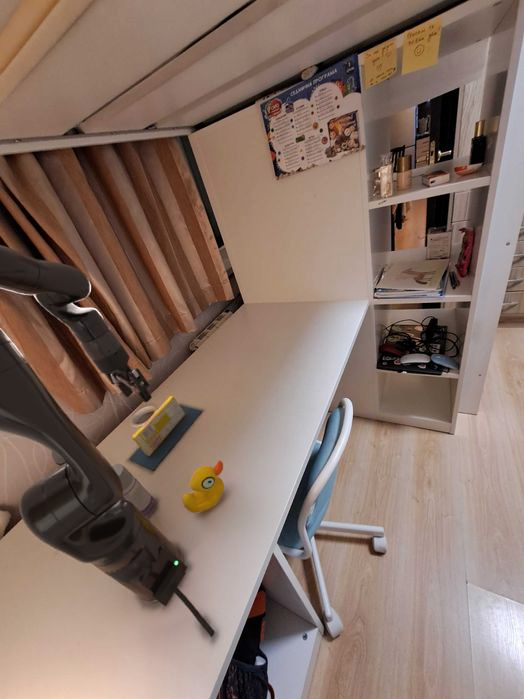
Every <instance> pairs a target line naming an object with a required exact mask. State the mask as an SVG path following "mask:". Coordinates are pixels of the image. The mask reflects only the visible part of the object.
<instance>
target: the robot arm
mask: <svg viewBox="0 0 524 699" xmlns="http://www.w3.org/2000/svg"><path fill="white" fill-rule="evenodd" d="M0 289H2V290H5V291H9V292H12V293H16V294H20V295H24V296H25V295H27V296H33V297H34V298H35V300H36V301H37V302H38V303H39V305H40V306H41V307H43V308H44V309H45V310H46V311H47V312H49V313H50V314H51V315H52V316H54V317H55V318H56V319H57V320H58V321H60V322H61V323H63V325H65V326H66V327H68V328H69V330H70V331H71V332H72V334H73V335H74V336H75V338H76V339H77V341H78V342H79V343H80V345H81V347H82V348H83V350H84V352H85V354H86V355H87V356H88V357H89V358H90V360H91V361H92V362H93V364H94V365H95V366H96V368H97V369H98V371H99V373H101V374H104V375H105V377H106V379H108V381H109V383H110V384H111V385H112V386H113V385H114V386H115V387H116V388H119V390H120V391H121V393H122V394H123V396H124V397H126V398H128V397H130V396H131V395H132V394H133V393H134V391H135V392H136V393H137V394H138V396H139V397H140V398H141V400H142V401H143V402H144V403H148V402H150V400H151V399H152V397H153V396H152V395H151V393H150V391H149V390H148V388H149V387H150V384H149V382H148V380H147V379H146V378H145V376H144V375H143V373H142V372H141V370H140V369H139V368H138V367H135V368H132V367H131V366H130V365H128V362H129V361H130V355H129V353H128V352H127V350H126V348H125V347H124V345H123V344H122V343H121V341H120V339H119V337H117V335H116V334H115V332H114V331H113V330H112V329H111V327H110V326H109V325H108V323H107V322H106V320H105V319H104V317H103V315H102V314H101V313H100V312H99V310H98V309H96V308H95V307H79V306H78V305H75V304H74V303H77V302H79V301H83V300H85V299H86V298H87V297H88V296H89V295H90V293H91V291H92V290H91V289H92V286H91V282H90V279H89V277H88V276H87V275H85V273H84V272H82V271H81V270H79V269H78V268H77V267H74V266H72V265H70V264H65V263H60V262H55V261H51V260H44V259H37V258H34V257H32V256H30V255H28V254H25V253H23V252H20V251H17V250H16V249H13V248H11V247H8V246H6V245H2V244H0ZM133 390H134V391H133ZM0 432H2V433H6V434H11V435H14V436H18V437H21V438H25V439H27V440H30V441H33V442H35V443H38V444H40V445H42V446H43V447H45V448H46V449H48V450H50V451H51V452H52V451H53V452H54V453H56V454H57V455H58V456H59V457H61V458H62V459H63V460H64V461H65V462H66V463H65V464H64V465H62V466H59V467H56V469H54V470H53V471H51V472H49V473H48V474H47V475H44V476H43V477H42V478H40V479H38V480H36V481H35V482H34V483H33V484H31V485H29V487H27V488H26V489H25V490H24V491H23V493H22V494H21V497H20V500H19V514H20V516H21V520H22V521H23V524H24V525H25V527H27V529H28V530H29V532H31V533H32V534H33V535H34V537H36V538H37V539H39V540H40V541H41V542H42V543H44V544H46V545H48V546H50V547H51V548H53V549H55V550H57V551H59V552H61V553H64V554H65V555H67V556H69V557H70V558H72V559H74V560H76V561H77V562H80V563H83V564H91V565H92V566H94V567H96V568H97V569H98V570H100V571H101V572H102V573H104V574H106V575H107V576H108V577H110V578H111V579H113V580H114V581H116V582H117V583H119V584H120V585H121V586H123V587H125V588H126V589H127V590H129V591H130V592H132V593H133V594H135V595H137V596H138V597H139V598H140V599H141V600H143V601H144V602H146V603H149V604H157V603H160V604H161V605H163V606H164V607H167V606H168V604H169V602H170V601H171V599H172V597H173V596H174V594H175V595H176V596H177V598H178V599H180V600H181V602H182V603H183V604H184V605H185V606H186V608H187V609H188V610H189V611H190V612H191V614H192V615H193V616H194V618H195V619H196V620H197V621H198V623H199V624H200V625H201V627H202V628H203V629H204V631H206V632H207V634H208V635H209V636H210V637H213V636H214V634H215V630H214V629H213V627H211V625H210V624H209V623H208V622H207V620H205V618H204V617H203V616H202V615H201V613H200V611H199V610H198V609H197V608H196V606H195V605H194V604H193V603H192V602H191V601H190V600H189V598H187V596H186V594H184V593H183V591H181V590H180V589H179V588H178V587H179V586H180V584H181V583H182V580H183V578H184V576H185V575H186V571H187V569H188V566H187V564H186V563H185V558H184V554H183V552H182V551H181V549H180V548H179V547H177V546H176V545H175V544H174V543H173V542H172V541H171V540H169V538H168V537H167V536H166V535H165V534H163V532H162V531H161V530H160V529H159V528H157V527H156V525H155V524H153V522H152V521H151V520H150V519H148V517H146V516H145V515H144V514H143V513H142V512H141V511H140V510H139V509H138V508H137V507H136V506H135V505H134V504H133V503H131V502H130V501H128V500H126V499H121V498H122V495H123V486H122V483H121V480H120V478H119V476H118V474H117V473H116V471H115V470H114V468H113V467H112V466H113V465H112V464H111V463H110V461H108V459H107V458H106V457H105V456H104V454H102V452H101V451H100V450H99V449H98V448H97V447H96V446H95V445H94V444H93V442H92V441H91V440H90V439H89V438H88V437H87V436H86V435H85V434H84V433H83V431H82V430H81V429H80V428H79V427H78V426H77V425H76V424H75V422H74V421H73V420H72V419H71V418H70V417H69V415H68V414H67V413H66V412H65V411H64V409H62V407H61V406H60V404H59V403H58V402H57V400H56V399H55V398H54V396H53V395H52V394H51V393H50V391H49V390H48V388H47V387H46V386H45V384H44V383H43V381H42V380H41V379H40V377H39V376H38V374H37V373H36V372H35V371H34V369H33V367H32V366H31V364H30V363H29V362H28V361H27V359H26V358H25V357H24V355H23V354H22V352H21V351H20V350H19V349H18V347H17V346H16V345H15V343H14V342H12V340H11V338H9V336H8V335H7V334H6V333H5V332H4V330H3V329H2V328H1V327H0Z"/></svg>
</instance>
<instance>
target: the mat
mask: <svg viewBox="0 0 524 699" xmlns="http://www.w3.org/2000/svg"><path fill="white" fill-rule="evenodd" d="M179 405H180V407H181V408H182V410H183V411H184V413H185V415H184V417H183V418H182V419H181V420H180V421H179V422H178V424H177V425H176V426H175V427H174V428H173V429H172V431H171V432H170V433H169V434H168V435H167V436H166V438H165V439H164V440H163V441H162V442H161V443H160V445H159V446H158V447H157V448H156V449H155V450H154V452H153V453H152V454H151V455H150V456H148V455H146V454H145V453H144V451H143V450H142V449H141V448H140V447H139V446H138V448H137V450H136V451H135V452H134V453H133V454H132V455H131V456H130V457H129V458H128V459H129V460H130V461H132V462H134V463H135V464H138V465H140V466H142V467H145V468H146V469H148V470H150V471H153V472H154V471H155V470H156V469H157V467H158V466H159V465H160V464H161V462H162V461H163V460H164V459H165V458H166V457H167V455H168V454H169V453H170V452H171V451H172V449H173V448H174V447H175V445H176V444H177V443H178V442H179V441H180V439H181V438H182V437H183V436H184V435H185V433H186V432H187V431H188V430H189V429H190V427H191V426H192V425H193V424H194V422H195V421H196V420H197V419H198V418H199V417H200V415H201V414H202V413H203V410H201V409H197V408H193V407H189V406H186V405H182V404H179Z"/></svg>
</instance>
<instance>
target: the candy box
mask: <svg viewBox="0 0 524 699" xmlns="http://www.w3.org/2000/svg"><path fill="white" fill-rule="evenodd" d="M180 405H181V404H180V403H178V401H177V399H176V398H175V396H174V395H170V396H169V397H168V398H166V399H165V401H164V402H163V403H162V404H161V406H159V408H157V409H156V411H155V412H153V414H152V415H151V416H150V417H149V418H148V419H147V420H146V421H145V422H144V423H143V424H142V425H141V426H140V428H138V429H137V430H136V431H135V432H134V434H132V436H131V439H132V440H133V441H134V442H135V443H136V445H138V448H139V447H140V448H141V449H142V450H143V451H144V453H145V454H146V455H148V456H150V455H151V454H152V453H153V452H154V450H155V449H156V448H157V447H158V446H159V445H160V443H161V442H162V441H163V440H164V439H165V438H166V436H167V435H168V434H169V433H170V432H171V431H172V429H173V428H174V427H175V426H176V425H177V424H178V422H179V421H180V420H181V419H182V418H183V417H184V415H185V413H184V411H183V410H182V408H181V407H180Z"/></svg>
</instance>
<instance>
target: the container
mask: <svg viewBox="0 0 524 699" xmlns="http://www.w3.org/2000/svg"><path fill="white" fill-rule="evenodd" d="M111 466H112V467H113V468H114V470H115V471H116V473H117V474H118V476H119V478H120V480H121V483H122V486H123V495H122V498H121V499H126V500H128V501H130V502H131V503H133V504H134V505H135V506H136V507H137V508H138V509H139V510H140V511H141V512H142V513H143V514H144V515H145V516H146V517H147V518H148V517H150V516H151V515H152V514H153V512H154V511H155V509H156V507H157V501H156V499H155V498H154V497H153V496H152V495H151V493H149V491H148V490H147V489H146V487H145V486H144V485H142V483H141V482H140V481H139V480H138V479H137V478H136V477H135V476H134V475H133V474H132V472H130V471H129V470H128V469H127V467H126V466H124V464H122V463H119V462H118V463H115V464H113V465H111Z"/></svg>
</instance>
